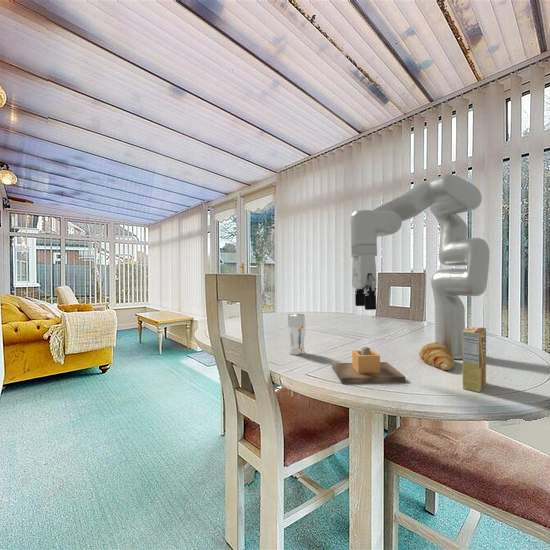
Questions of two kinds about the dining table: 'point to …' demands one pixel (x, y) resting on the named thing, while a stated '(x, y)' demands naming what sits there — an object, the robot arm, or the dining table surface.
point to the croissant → (437, 356)
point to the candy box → (474, 358)
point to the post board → (350, 375)
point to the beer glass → (296, 333)
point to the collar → (366, 362)
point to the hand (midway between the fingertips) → (365, 307)
